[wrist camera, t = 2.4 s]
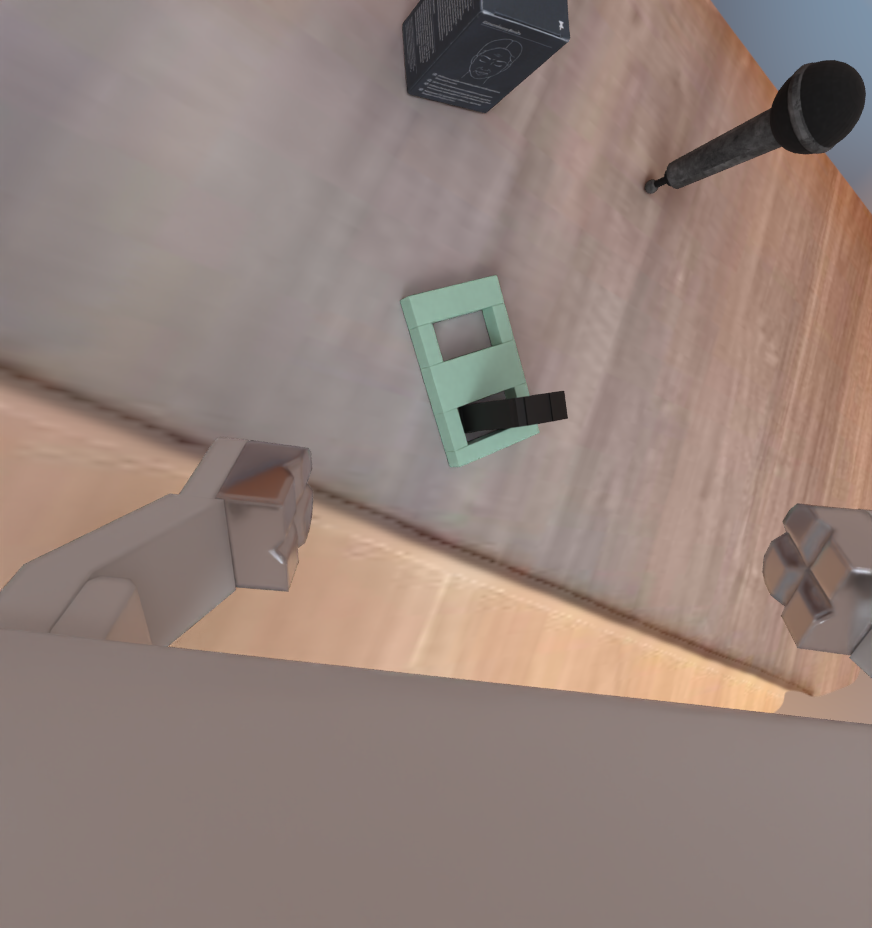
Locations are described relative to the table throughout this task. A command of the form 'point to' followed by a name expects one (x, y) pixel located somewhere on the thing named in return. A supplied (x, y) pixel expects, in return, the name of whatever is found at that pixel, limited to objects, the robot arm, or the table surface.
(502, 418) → the ink cartridge
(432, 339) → the holder
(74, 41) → the table surface
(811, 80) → the microphone
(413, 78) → the box
